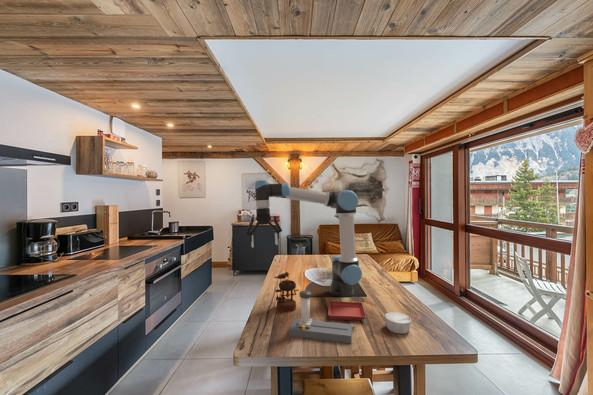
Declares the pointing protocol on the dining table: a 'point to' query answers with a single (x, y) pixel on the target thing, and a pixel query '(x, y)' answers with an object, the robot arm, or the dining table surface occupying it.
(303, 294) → the handle
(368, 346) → the dining table surface
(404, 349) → the dining table surface
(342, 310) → the plant saucer
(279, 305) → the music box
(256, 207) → the robot arm
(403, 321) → the ramekin
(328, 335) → the fader console
